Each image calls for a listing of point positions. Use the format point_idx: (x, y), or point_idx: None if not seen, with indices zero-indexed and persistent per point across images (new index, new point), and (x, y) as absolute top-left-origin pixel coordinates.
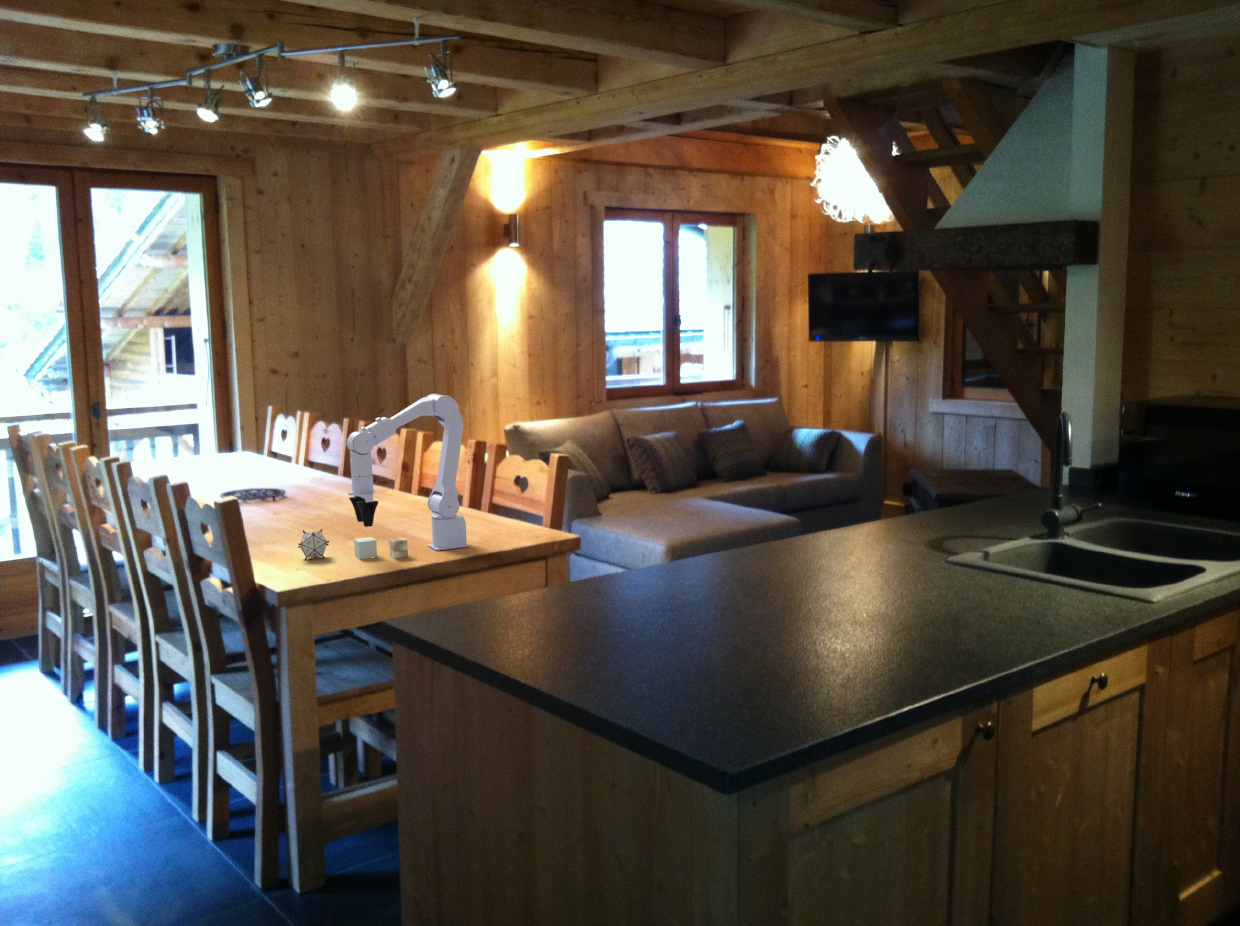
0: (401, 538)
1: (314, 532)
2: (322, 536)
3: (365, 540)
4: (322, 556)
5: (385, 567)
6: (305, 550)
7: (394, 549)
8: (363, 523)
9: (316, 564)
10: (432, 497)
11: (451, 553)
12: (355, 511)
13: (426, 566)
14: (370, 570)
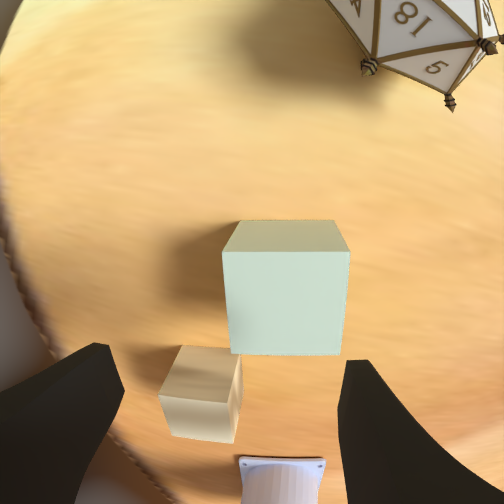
0: (212, 434)
1: None
2: (420, 38)
3: (257, 304)
4: (366, 59)
5: (69, 280)
6: None
7: (171, 373)
8: (89, 354)
9: (242, 14)
10: None
11: (194, 462)
12: (382, 433)
13: None
14: (45, 222)
